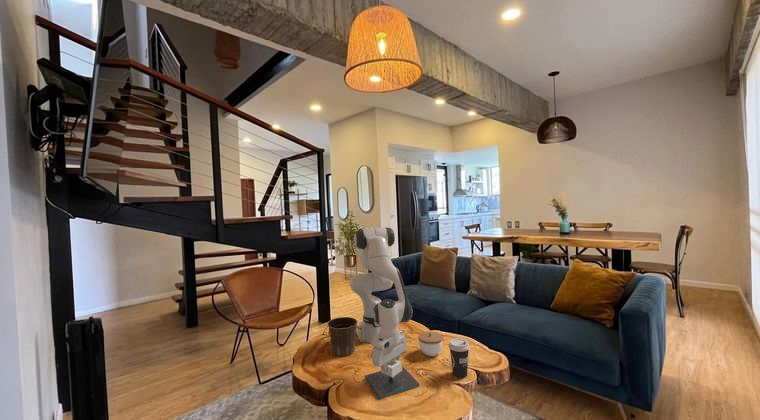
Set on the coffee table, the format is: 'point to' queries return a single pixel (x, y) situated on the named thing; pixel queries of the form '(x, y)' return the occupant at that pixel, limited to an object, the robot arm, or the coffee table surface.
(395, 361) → the collar
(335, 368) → the coffee table surface
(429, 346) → the lidded bowl
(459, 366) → the coffee cup
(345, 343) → the plant pot
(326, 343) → the coffee table surface
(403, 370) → the base plate
